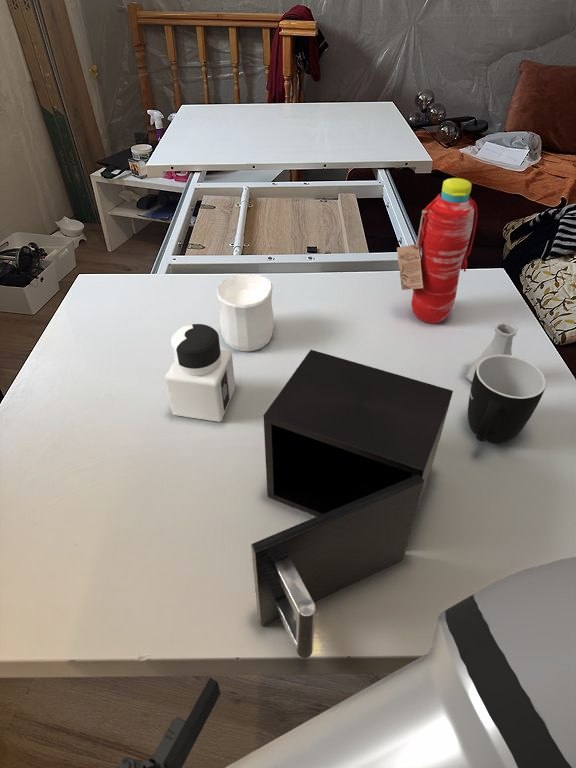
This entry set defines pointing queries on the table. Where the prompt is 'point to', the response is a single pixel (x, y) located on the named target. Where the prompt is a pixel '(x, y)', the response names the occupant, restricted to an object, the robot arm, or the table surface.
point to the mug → (503, 397)
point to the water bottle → (439, 252)
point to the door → (330, 556)
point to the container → (199, 374)
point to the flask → (497, 345)
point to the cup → (246, 311)
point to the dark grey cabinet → (348, 433)
